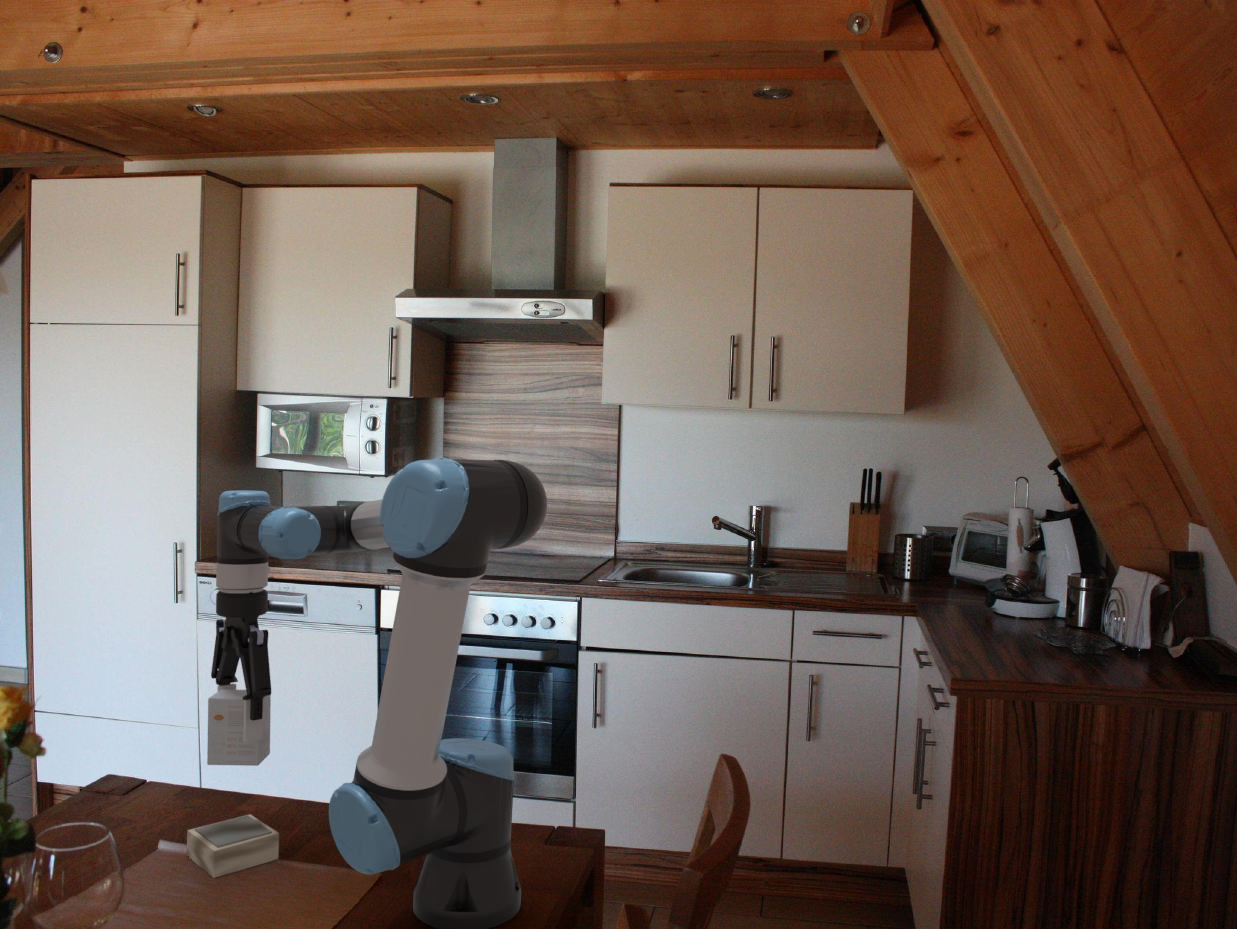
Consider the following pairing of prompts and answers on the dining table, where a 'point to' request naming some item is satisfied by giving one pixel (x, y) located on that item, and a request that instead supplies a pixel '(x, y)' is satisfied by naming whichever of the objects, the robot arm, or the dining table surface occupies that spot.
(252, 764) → the small box
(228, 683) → the robot arm
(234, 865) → the birch stand
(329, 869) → the dining table surface
